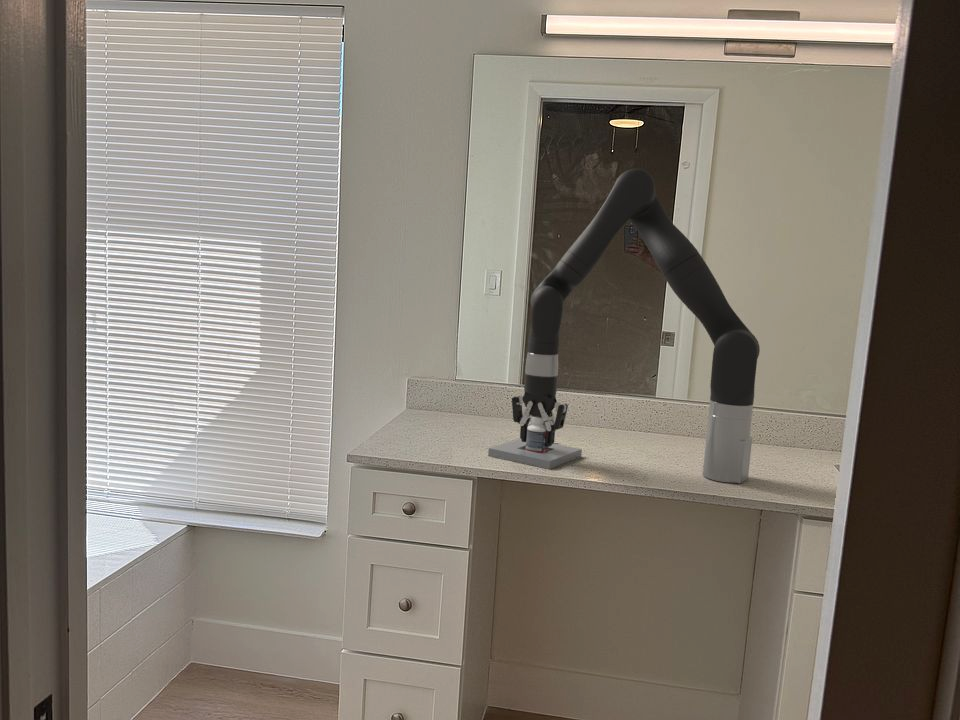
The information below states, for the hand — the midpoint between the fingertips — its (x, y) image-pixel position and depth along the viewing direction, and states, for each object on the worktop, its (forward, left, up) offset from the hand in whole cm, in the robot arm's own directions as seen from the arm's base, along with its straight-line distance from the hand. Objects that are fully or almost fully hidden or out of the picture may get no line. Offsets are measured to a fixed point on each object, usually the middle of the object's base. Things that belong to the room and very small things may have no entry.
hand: (536, 443), depth 200 cm
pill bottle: (0, 0, -3) cm, 3 cm away
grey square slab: (0, 0, -3) cm, 3 cm away
